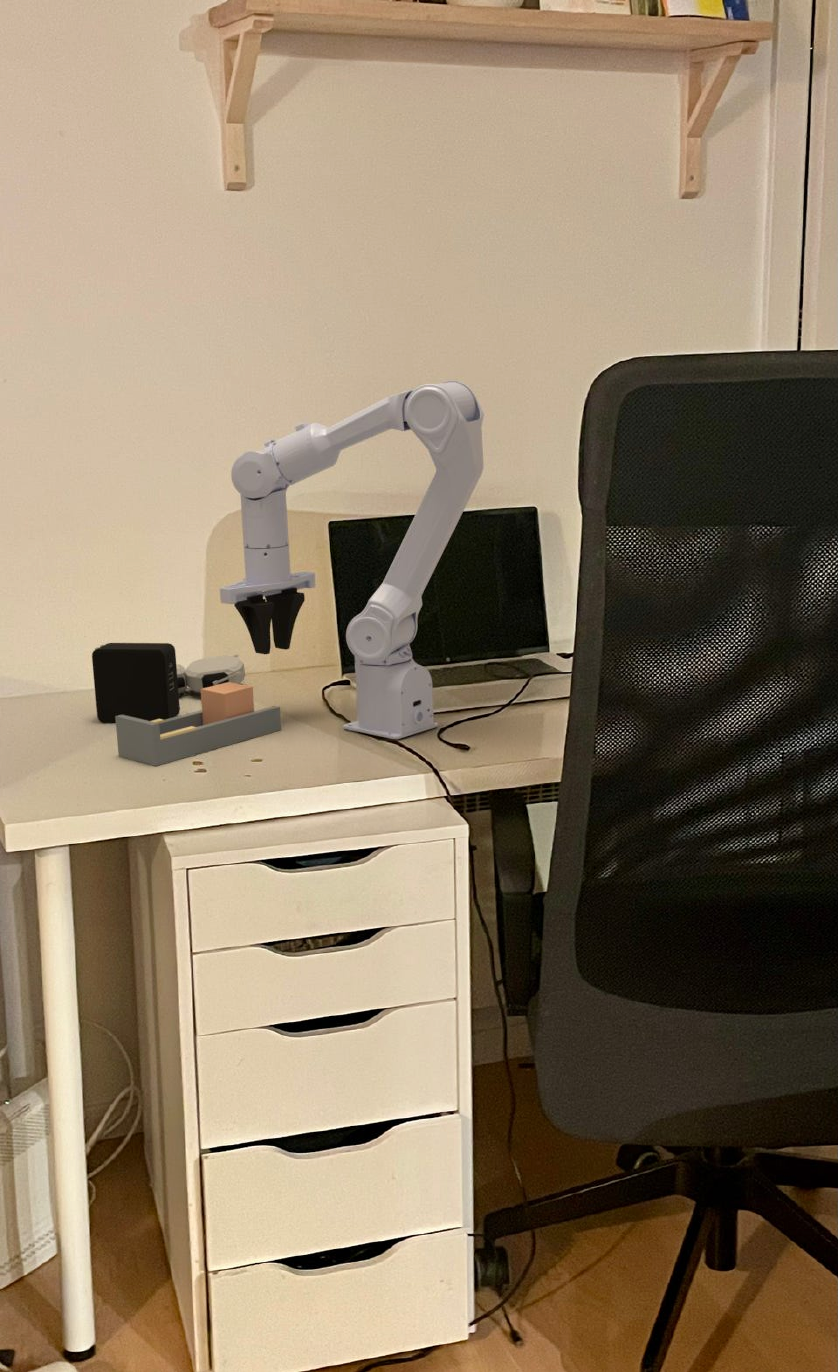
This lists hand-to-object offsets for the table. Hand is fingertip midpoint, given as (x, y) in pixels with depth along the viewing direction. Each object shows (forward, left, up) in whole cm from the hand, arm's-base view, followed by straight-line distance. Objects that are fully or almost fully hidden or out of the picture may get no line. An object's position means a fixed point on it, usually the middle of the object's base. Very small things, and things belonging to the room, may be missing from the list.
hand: (272, 650), depth 194 cm
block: (0, +8, -8) cm, 12 cm away
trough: (0, +12, -9) cm, 15 cm away
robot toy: (+22, -4, -10) cm, 24 cm away
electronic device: (+16, +10, -10) cm, 21 cm away
